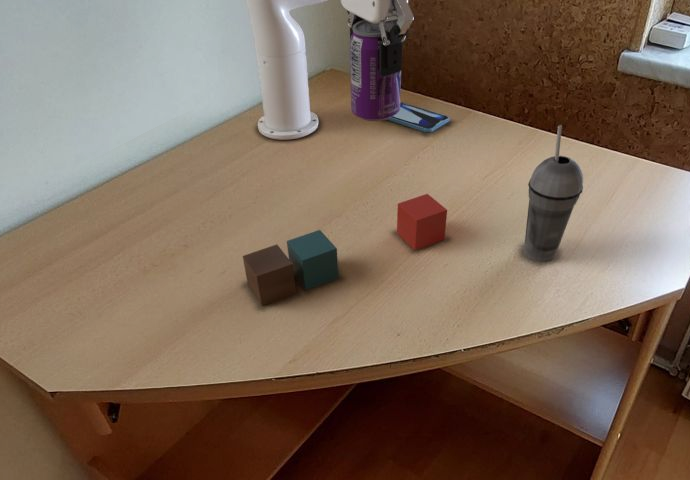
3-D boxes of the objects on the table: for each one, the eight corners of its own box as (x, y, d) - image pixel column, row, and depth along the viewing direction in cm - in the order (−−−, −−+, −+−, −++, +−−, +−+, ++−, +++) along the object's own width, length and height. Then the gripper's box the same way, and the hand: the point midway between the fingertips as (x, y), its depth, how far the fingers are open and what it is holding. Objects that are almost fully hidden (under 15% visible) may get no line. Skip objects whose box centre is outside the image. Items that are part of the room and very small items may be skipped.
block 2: (290, 270, 95) (286, 240, 91) (322, 259, 96) (319, 229, 92) (305, 290, 91) (302, 260, 87) (338, 278, 93) (336, 248, 89)
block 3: (396, 232, 100) (397, 203, 96) (425, 222, 101) (427, 193, 97) (415, 250, 96) (416, 220, 92) (444, 239, 98) (447, 209, 94)
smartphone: (393, 99, 133) (451, 116, 125) (393, 103, 134) (451, 121, 126) (371, 111, 129) (429, 130, 121) (371, 116, 130) (428, 135, 122)
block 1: (247, 285, 93) (242, 255, 89) (281, 273, 94) (277, 243, 90) (261, 306, 89) (256, 276, 85) (296, 293, 91) (292, 263, 87)
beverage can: (397, 125, 88) (399, 35, 79) (348, 124, 89) (345, 35, 80) (402, 103, 92) (404, 16, 84) (355, 102, 94) (353, 17, 85)
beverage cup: (556, 273, 90) (590, 145, 76) (507, 259, 93) (532, 133, 79) (570, 246, 95) (605, 121, 80) (524, 234, 98) (550, 110, 83)
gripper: (314, -96, 78) (322, 52, 90) (386, -73, 66) (384, 92, 79) (365, -105, 80) (367, 40, 92) (444, -85, 68) (434, 78, 81)
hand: (375, 63), depth 85 cm, fingers closed on beverage can, 7 cm apart
